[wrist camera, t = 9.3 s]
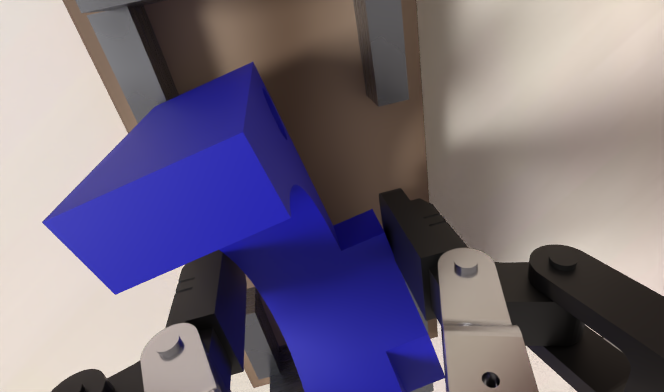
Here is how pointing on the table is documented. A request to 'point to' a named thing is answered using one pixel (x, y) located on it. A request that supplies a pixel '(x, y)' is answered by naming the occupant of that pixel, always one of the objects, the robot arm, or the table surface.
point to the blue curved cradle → (251, 234)
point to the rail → (283, 101)
